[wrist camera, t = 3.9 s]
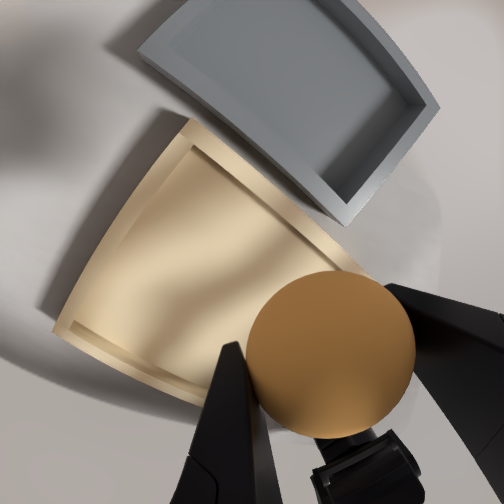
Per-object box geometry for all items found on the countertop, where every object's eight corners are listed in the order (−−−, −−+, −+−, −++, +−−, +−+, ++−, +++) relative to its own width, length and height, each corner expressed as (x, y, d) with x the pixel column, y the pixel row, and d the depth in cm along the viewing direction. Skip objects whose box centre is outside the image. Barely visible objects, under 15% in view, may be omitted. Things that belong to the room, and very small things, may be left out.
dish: (363, 270, 22) (375, 281, 20) (229, 403, 24) (233, 418, 23) (191, 118, 15) (191, 117, 14) (59, 316, 18) (51, 331, 16)
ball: (363, 333, 10) (430, 418, 6) (251, 376, 9) (288, 485, 6) (358, 225, 8) (468, 301, 4) (212, 272, 7) (247, 404, 4)
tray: (418, 107, 18) (440, 107, 16) (328, 216, 19) (345, 227, 17) (269, -46, 12) (280, -63, 9) (143, 60, 13) (136, 50, 11)
